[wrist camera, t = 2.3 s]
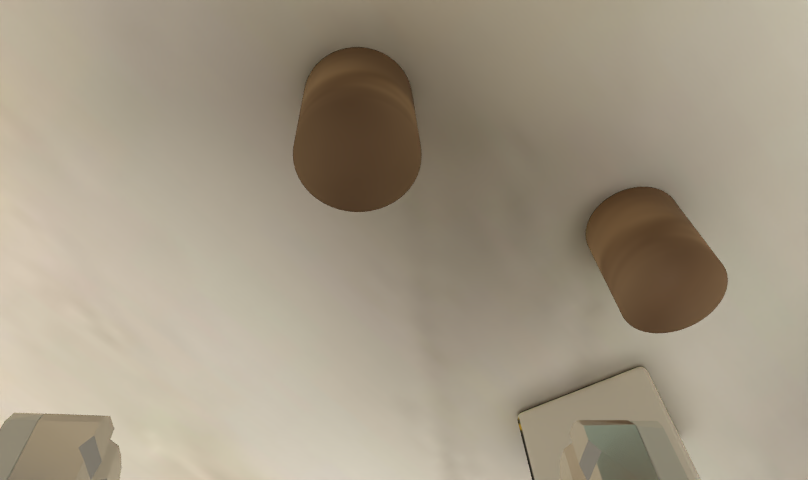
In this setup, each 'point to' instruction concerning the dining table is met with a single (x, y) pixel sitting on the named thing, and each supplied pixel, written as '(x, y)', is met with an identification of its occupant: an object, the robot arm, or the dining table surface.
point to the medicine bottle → (600, 401)
